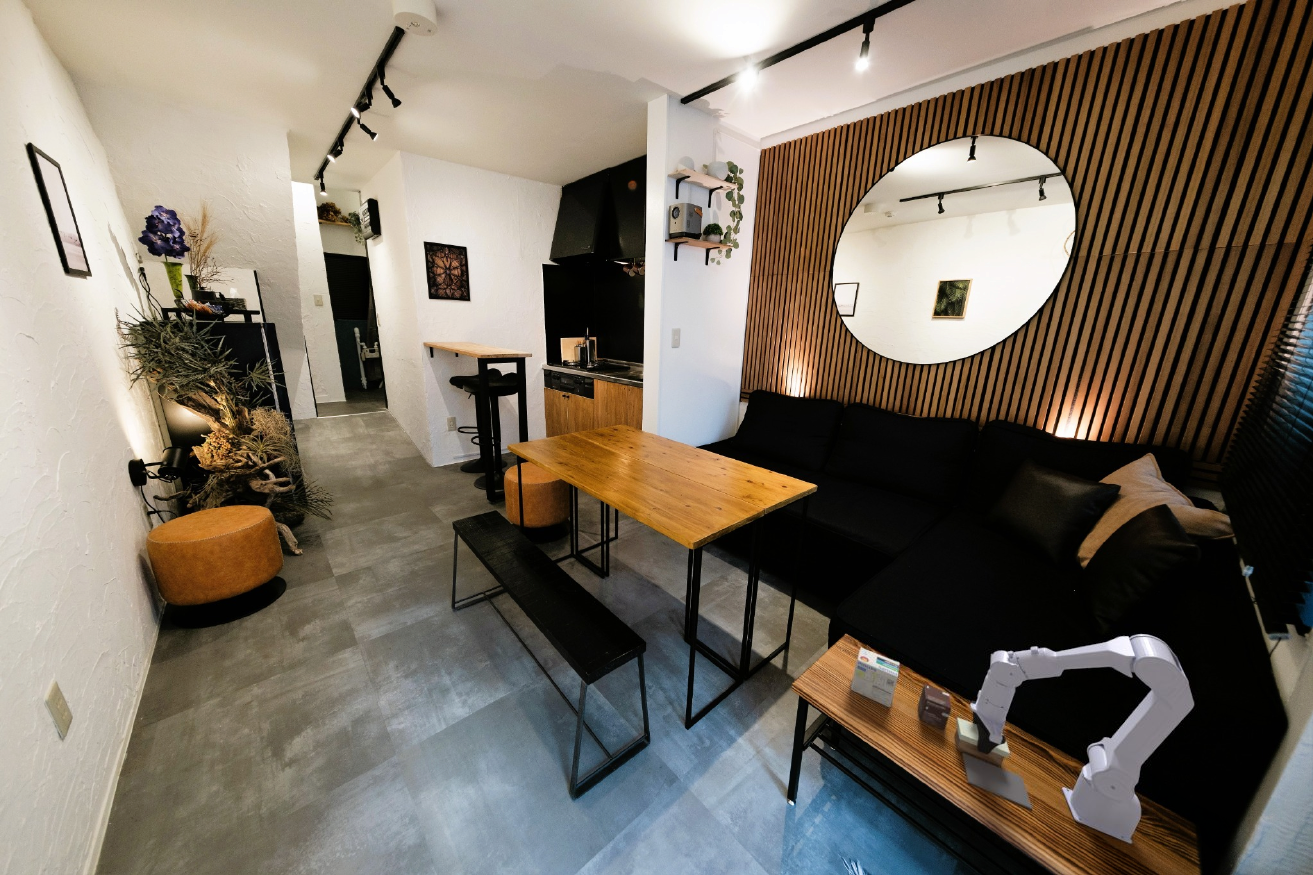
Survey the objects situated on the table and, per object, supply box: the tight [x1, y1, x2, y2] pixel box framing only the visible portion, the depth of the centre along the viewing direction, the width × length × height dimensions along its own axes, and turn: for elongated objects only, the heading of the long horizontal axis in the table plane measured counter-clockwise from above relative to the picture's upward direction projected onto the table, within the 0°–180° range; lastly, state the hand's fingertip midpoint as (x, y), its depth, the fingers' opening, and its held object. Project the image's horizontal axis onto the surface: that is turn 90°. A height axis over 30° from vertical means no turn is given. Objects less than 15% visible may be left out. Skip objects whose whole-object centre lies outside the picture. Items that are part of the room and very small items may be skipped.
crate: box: [954, 729, 1005, 769], centre depth 110 cm, size 9×4×4 cm, turn 64°
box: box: [917, 683, 952, 731], centre depth 119 cm, size 6×6×7 cm
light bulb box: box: [850, 647, 900, 708], centre depth 125 cm, size 11×7×11 cm, turn 58°
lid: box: [955, 716, 1011, 759], centre depth 109 cm, size 10×6×2 cm, turn 64°
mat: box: [961, 753, 1033, 811], centre depth 104 cm, size 12×8×1 cm, turn 64°
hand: (980, 741), depth 110 cm, fingers closed on lid, 5 cm apart
